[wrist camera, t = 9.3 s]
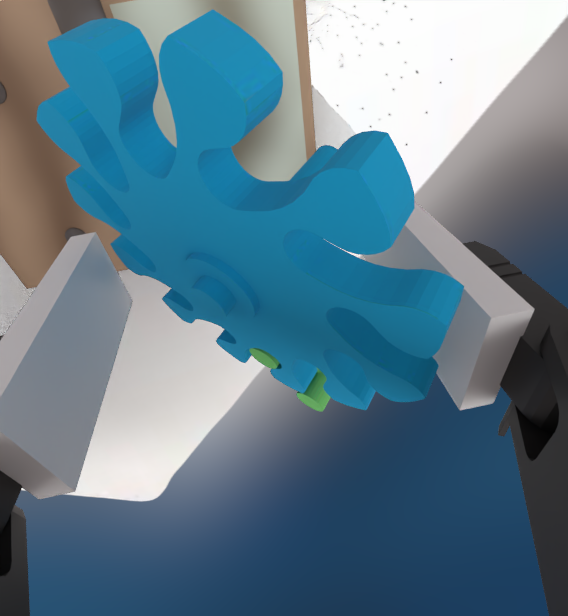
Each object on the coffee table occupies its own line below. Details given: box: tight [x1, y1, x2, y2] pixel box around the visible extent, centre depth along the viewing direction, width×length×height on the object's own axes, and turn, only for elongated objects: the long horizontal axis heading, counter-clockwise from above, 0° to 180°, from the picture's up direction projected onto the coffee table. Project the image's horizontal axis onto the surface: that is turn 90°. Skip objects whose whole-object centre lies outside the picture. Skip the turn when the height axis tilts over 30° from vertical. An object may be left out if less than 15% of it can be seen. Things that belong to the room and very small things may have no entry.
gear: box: [37, 9, 464, 411], centre depth 10 cm, size 11×6×10 cm
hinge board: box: [0, 0, 316, 289], centre depth 22 cm, size 23×16×2 cm
